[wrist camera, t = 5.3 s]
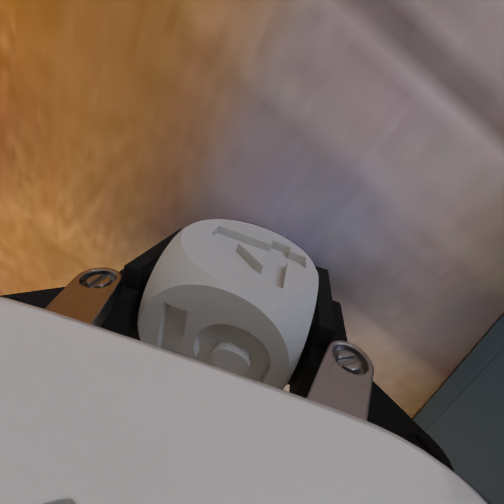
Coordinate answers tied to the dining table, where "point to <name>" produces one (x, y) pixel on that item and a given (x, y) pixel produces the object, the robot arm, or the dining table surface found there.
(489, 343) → the chest
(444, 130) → the dining table surface
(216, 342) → the die
